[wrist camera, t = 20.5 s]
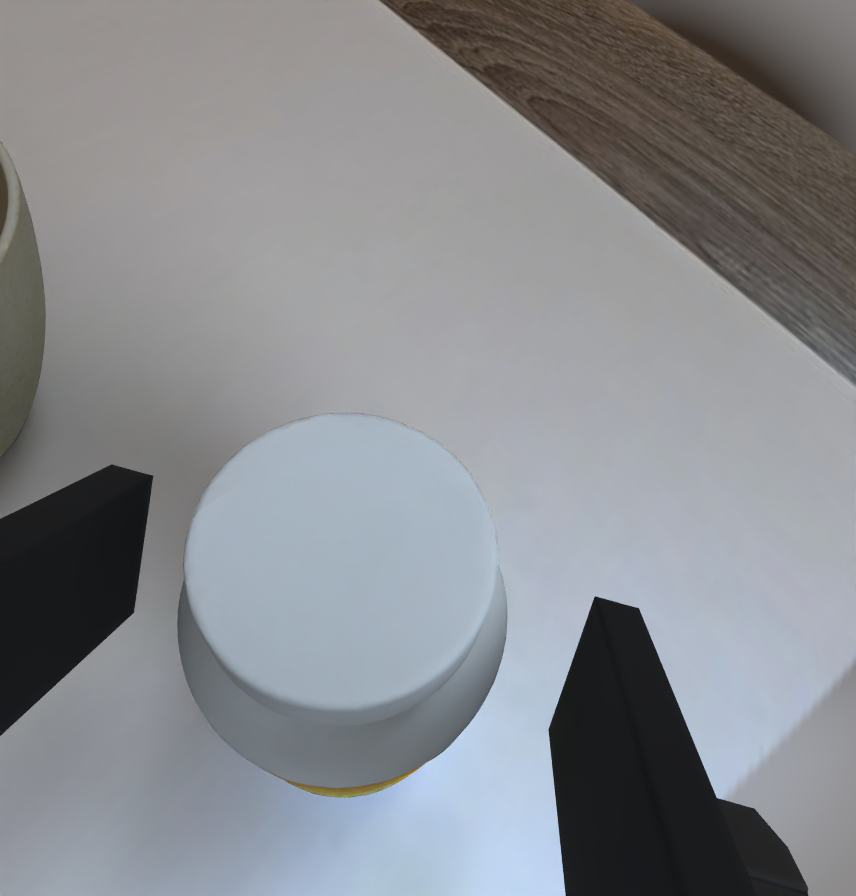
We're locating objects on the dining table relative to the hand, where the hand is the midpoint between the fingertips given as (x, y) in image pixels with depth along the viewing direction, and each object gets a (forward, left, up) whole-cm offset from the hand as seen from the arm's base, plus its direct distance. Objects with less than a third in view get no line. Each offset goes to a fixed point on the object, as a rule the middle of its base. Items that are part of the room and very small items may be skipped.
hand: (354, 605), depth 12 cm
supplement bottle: (0, 0, -6) cm, 6 cm away
